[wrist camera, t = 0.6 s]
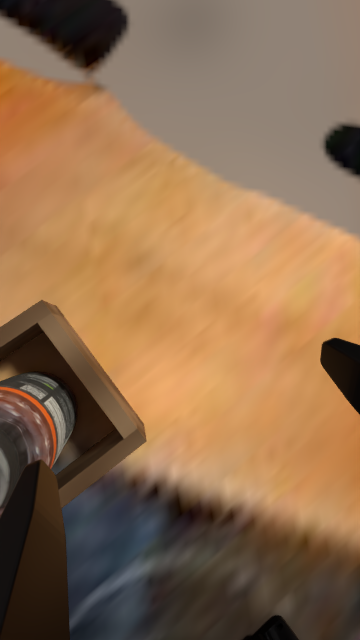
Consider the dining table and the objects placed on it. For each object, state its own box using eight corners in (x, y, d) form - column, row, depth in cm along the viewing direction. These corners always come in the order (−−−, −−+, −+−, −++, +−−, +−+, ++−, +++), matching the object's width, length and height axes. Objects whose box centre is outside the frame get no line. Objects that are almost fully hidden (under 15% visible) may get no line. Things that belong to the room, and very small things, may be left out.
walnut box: (143, 423, 24) (146, 441, 20) (16, 523, 22) (-9, 563, 18) (56, 306, 23) (41, 299, 19) (-81, 398, 22) (-129, 412, 18)
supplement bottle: (-10, 455, 22) (-152, 577, 11) (-6, 370, 22) (-141, 403, 11) (78, 451, 23) (30, 559, 12) (81, 370, 23) (36, 400, 12)
